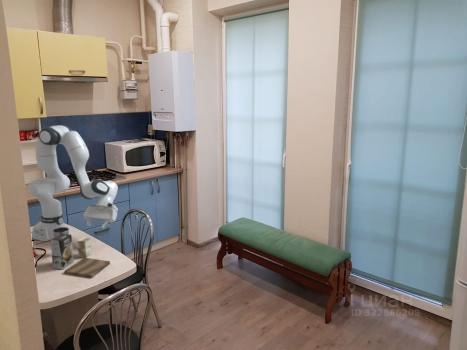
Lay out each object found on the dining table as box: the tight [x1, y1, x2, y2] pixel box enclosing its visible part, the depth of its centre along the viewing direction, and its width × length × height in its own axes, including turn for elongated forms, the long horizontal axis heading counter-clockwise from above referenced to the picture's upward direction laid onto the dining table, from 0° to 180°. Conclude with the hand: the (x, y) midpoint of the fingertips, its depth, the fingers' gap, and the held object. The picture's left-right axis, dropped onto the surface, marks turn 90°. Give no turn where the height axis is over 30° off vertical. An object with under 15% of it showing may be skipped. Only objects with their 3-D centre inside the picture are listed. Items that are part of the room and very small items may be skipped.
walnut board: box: [64, 257, 111, 279], centre depth 191 cm, size 16×16×2 cm
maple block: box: [76, 236, 92, 259], centre depth 204 cm, size 5×5×10 cm
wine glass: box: [53, 226, 70, 238], centre depth 205 cm, size 8×8×15 cm
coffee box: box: [50, 233, 74, 270], centre depth 192 cm, size 9×6×16 cm
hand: (95, 226), depth 213 cm, fingers open, 8 cm apart
